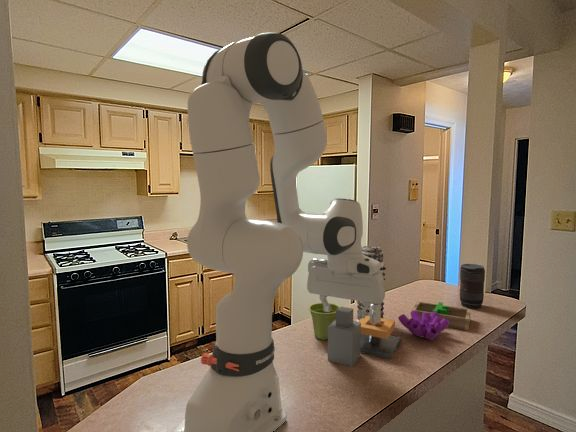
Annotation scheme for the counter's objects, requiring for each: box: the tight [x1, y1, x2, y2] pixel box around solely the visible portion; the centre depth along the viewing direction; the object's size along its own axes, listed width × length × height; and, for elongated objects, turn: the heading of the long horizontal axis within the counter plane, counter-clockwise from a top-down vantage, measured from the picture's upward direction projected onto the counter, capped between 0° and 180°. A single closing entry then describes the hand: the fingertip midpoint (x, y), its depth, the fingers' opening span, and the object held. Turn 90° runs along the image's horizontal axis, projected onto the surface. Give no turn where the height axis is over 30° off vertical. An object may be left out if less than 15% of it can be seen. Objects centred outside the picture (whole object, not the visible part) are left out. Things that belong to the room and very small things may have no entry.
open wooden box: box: [410, 301, 472, 331], centre depth 121 cm, size 10×17×4 cm, turn 61°
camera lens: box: [459, 263, 486, 310], centre depth 134 cm, size 8×8×15 cm
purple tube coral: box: [398, 310, 450, 340], centre depth 109 cm, size 11×15×10 cm
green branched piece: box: [433, 301, 450, 315], centre depth 121 cm, size 10×4×4 cm, turn 147°
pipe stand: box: [360, 303, 402, 360], centre depth 102 cm, size 12×12×14 cm
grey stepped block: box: [327, 306, 361, 367], centre depth 95 cm, size 7×7×13 cm
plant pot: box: [308, 302, 341, 341], centre depth 109 cm, size 9×9×9 cm
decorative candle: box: [356, 245, 387, 322], centre depth 118 cm, size 9×9×25 cm
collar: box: [358, 315, 396, 339], centre depth 102 cm, size 9×9×2 cm
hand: (344, 314), depth 95 cm, fingers open, 8 cm apart
